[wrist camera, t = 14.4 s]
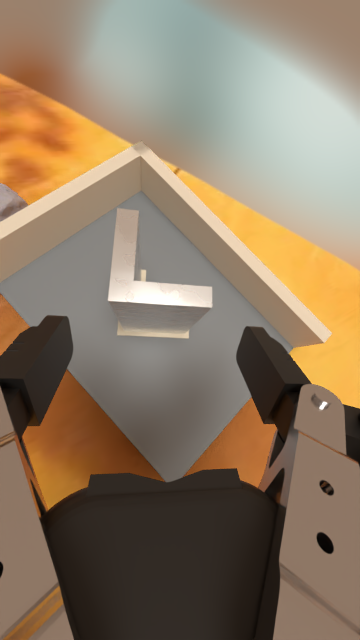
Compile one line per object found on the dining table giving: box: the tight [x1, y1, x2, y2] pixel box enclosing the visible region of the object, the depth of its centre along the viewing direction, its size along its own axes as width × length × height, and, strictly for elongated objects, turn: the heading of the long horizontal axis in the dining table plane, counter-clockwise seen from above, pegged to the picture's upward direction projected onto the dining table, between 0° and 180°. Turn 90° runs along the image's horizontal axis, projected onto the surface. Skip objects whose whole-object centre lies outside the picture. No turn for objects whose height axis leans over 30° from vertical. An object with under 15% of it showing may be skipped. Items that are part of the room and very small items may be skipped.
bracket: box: [108, 208, 212, 334], centre depth 17 cm, size 6×6×9 cm
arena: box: [0, 141, 332, 482], centre depth 20 cm, size 24×18×5 cm
